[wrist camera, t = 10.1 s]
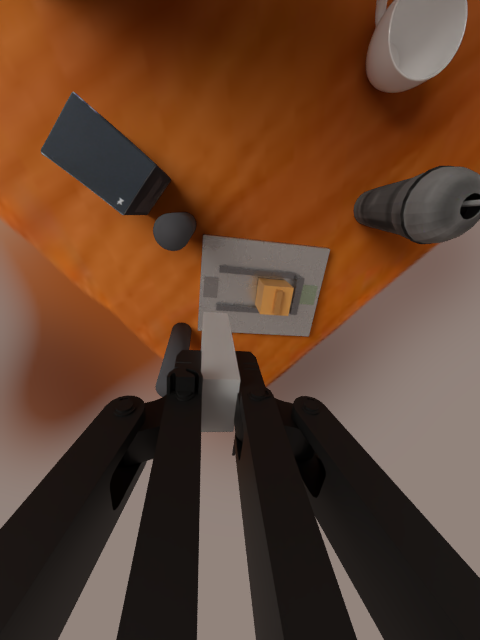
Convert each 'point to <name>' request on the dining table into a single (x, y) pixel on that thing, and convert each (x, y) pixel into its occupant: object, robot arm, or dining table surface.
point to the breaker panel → (242, 280)
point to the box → (104, 159)
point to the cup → (413, 41)
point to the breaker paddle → (273, 297)
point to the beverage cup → (424, 205)
